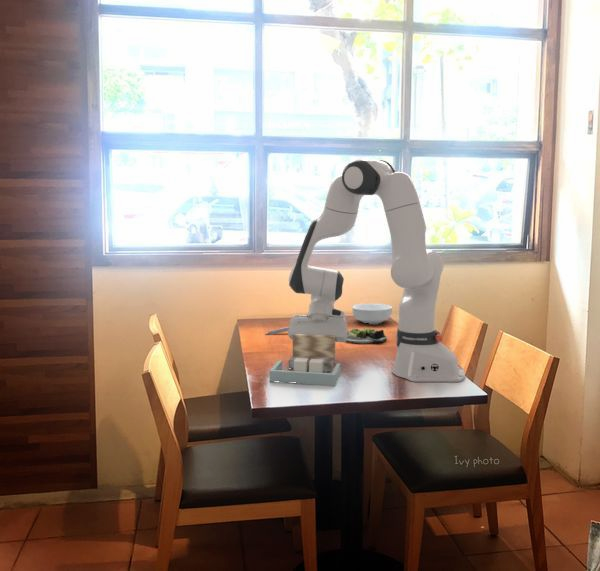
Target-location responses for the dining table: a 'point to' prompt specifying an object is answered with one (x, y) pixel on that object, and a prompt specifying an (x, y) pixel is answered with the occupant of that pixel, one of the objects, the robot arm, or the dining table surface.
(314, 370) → the cream block
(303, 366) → the cream block
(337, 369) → the tray
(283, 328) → the caliper
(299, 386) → the dining table surface
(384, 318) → the cereal bowl
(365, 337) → the salad plate
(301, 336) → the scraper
